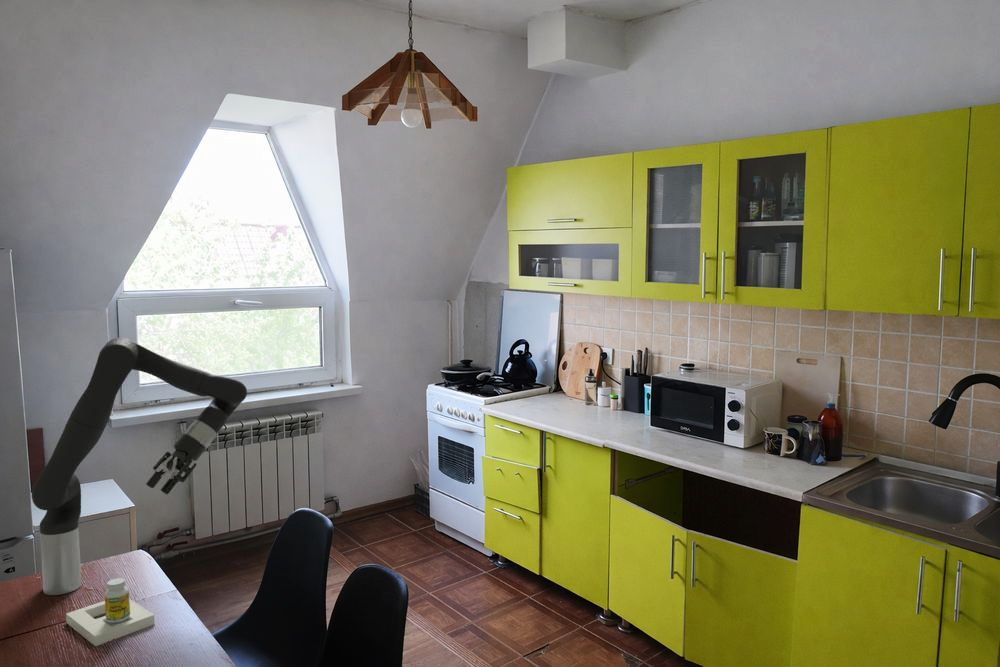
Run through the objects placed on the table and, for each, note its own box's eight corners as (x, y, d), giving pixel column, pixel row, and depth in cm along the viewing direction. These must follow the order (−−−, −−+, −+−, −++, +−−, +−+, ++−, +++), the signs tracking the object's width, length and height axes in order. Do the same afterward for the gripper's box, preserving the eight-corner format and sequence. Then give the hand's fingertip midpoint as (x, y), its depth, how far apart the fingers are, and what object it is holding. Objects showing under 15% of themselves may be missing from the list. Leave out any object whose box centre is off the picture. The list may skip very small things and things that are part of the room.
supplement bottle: (128, 611, 183) (127, 575, 182) (131, 619, 178) (129, 582, 177) (104, 616, 180) (103, 580, 179) (106, 625, 175) (105, 587, 174)
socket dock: (66, 623, 182) (66, 612, 182) (123, 603, 193) (123, 593, 193) (95, 646, 171) (94, 635, 170) (154, 624, 181) (154, 614, 181)
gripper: (173, 429, 203) (134, 477, 195) (198, 436, 194) (158, 487, 186) (192, 444, 208) (154, 491, 200) (218, 451, 199) (179, 502, 191)
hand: (156, 489), depth 193 cm, fingers open, 8 cm apart
